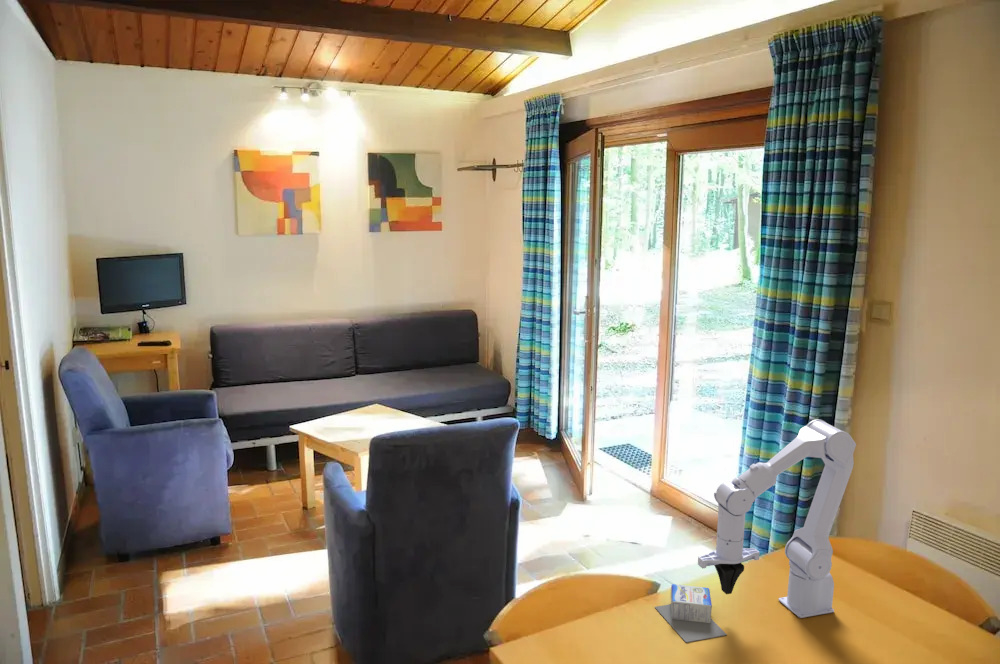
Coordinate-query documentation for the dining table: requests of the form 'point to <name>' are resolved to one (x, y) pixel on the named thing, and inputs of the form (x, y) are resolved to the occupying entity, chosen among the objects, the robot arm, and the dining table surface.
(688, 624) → the grey mat
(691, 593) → the medicine box
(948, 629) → the dining table surface
